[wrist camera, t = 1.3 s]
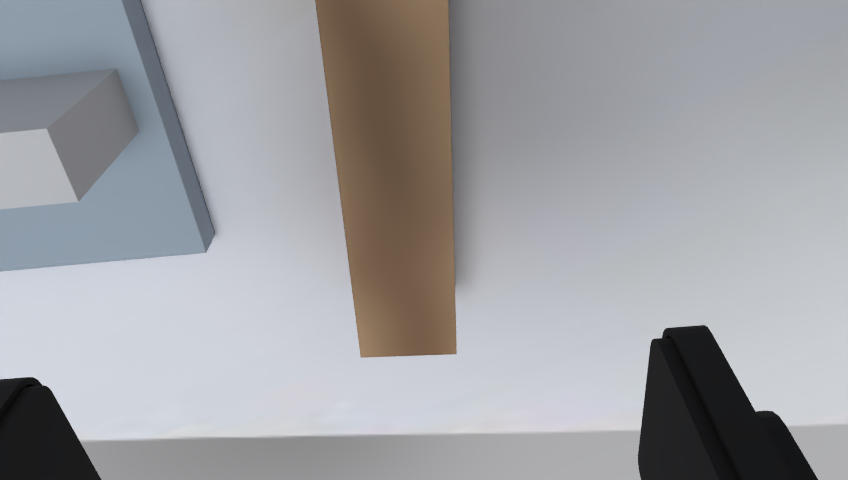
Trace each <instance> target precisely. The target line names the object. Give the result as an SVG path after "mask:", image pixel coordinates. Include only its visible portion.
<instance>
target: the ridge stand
mask: <svg viewBox="0 0 848 480" xmlns="http://www.w3.org/2000/svg"><path fill="white" fill-rule="evenodd" d="M214 235H215V232H214V229H213V226H212V223H211V220H210V217H209V214H208V211H207V207H206V204H205V201H204V198H203V195H202V192H201V189H200V186H199V183H198V179H197V176H196V173H195V170H194V167H193V164H192V161H191V158H190V154H189V151H188V148H187V145H186V142H185V139H184V136H183V133H182V130H181V126H180V123H179V120H178V117H177V114H176V111H175V108H174V105H173V101H172V98H171V95H170V92H169V89H168V86H167V83H166V80H165V77H164V73H163V70H162V67H161V64H160V61H159V58H158V55H157V52H156V48H155V45H154V42H153V39H152V36H151V33H150V30H149V27H148V24H147V20H146V17H145V14H144V11H143V8H142V5H141V2H140V0H0V271H10V270H21V269H32V268H43V267H54V266H65V265H76V264H87V263H98V262H109V261H120V260H131V259H142V258H153V257H164V256H175V255H186V254H197V253H206V252H207V250H208V248H209V246H210V244H211V242H212V239H213V237H214Z"/></svg>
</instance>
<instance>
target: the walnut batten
mask: <svg viewBox="0 0 848 480" xmlns="http://www.w3.org/2000/svg"><path fill="white" fill-rule="evenodd" d="M315 2H316V9H317V17H318V25H319V33H320V41H321V49H322V57H323V64H324V72H325V80H326V88H327V96H328V104H329V111H330V119H331V127H332V135H333V143H334V151H335V158H336V166H337V174H338V182H339V190H340V198H341V206H342V213H343V221H344V229H345V237H346V245H347V253H348V260H349V268H350V276H351V284H352V292H353V300H354V308H355V315H356V323H357V331H358V339H359V347H360V355H361V357H387V356H415V355H443V354H456V312H455V268H454V225H453V182H452V138H451V95H450V52H449V8H448V0H315Z"/></svg>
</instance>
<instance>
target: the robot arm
mask: <svg viewBox="0 0 848 480" xmlns="http://www.w3.org/2000/svg"><path fill="white" fill-rule="evenodd" d="M638 465H639V472H640V477H641V480H818V479H817V477H816V475H815V474H814V472H813V470H812V469H811V467H810V465H809V464H808V462H807V460H806V459H805V457H804V455H803V454H802V452H801V450H800V449H799V447H798V445H797V443H796V442H795V440H794V438H793V437H792V435H791V433H790V432H789V430H788V428H787V427H786V425H785V424H784V422H783V421H782V420H781V418H780V417H779V416H778V415H776V414H775V413H774V412H772V411H757V412H755V410H754V408H753V407H752V405H751V403H750V401H749V399H748V398H747V396H746V394H745V392H744V390H743V389H742V387H741V385H740V383H739V381H738V380H737V378H736V376H735V374H734V372H733V371H732V369H731V367H730V365H729V363H728V362H727V360H726V358H725V356H724V354H723V353H722V351H721V349H720V347H719V345H718V344H717V342H716V340H715V338H714V337H713V335H712V333H711V331H710V330H709V329H708V327H706V326H705V325H702V326H689V327H676V328H666V329H665V330H664V332H663V336H662V338H660V339H653V340H652V342H651V346H650V355H649V364H648V373H647V382H646V391H645V399H644V408H643V417H642V426H641V435H640V444H639V453H638ZM0 480H101V479H100V477H99V475H98V473H97V471H96V470H95V468H94V466H93V465H92V463H91V461H90V459H89V457H88V455H87V454H86V452H85V450H84V448H83V446H82V445H81V443H80V441H79V439H78V438H77V436H76V434H75V432H74V430H73V429H72V427H71V425H70V423H69V421H68V420H67V418H66V416H65V414H64V413H63V411H62V409H61V407H60V405H59V404H58V402H57V400H56V398H55V396H54V395H53V393H52V391H51V390H50V389H49V388H48V387H47V386H42V384H41V383H40V382H39V381H38V380H37V379H35V378H33V377H27V378H14V379H1V380H0Z"/></svg>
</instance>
